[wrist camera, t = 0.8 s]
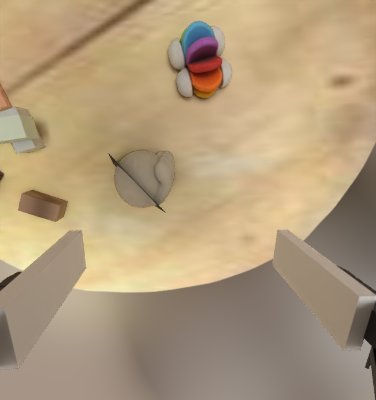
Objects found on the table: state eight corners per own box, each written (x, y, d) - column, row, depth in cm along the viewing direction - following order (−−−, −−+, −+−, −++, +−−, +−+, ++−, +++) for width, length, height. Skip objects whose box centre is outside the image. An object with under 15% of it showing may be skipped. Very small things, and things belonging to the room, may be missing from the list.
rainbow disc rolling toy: (182, 107, 36) (185, 98, 29) (163, 42, 33) (162, 15, 26) (230, 91, 36) (245, 79, 29) (215, 26, 33) (228, -6, 26)
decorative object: (144, 135, 38) (181, 177, 41) (100, 174, 36) (141, 215, 39) (154, 112, 26) (206, 173, 28) (89, 168, 24) (149, 228, 27)
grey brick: (10, 115, 34) (-5, 113, 31) (28, 110, 34) (14, 106, 31) (29, 152, 36) (16, 153, 33) (46, 146, 35) (35, 147, 33)
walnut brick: (29, 205, 38) (18, 210, 35) (33, 189, 37) (21, 193, 34) (64, 216, 39) (55, 221, 36) (68, 201, 38) (59, 205, 35)
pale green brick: (-1, 144, 32) (-18, 143, 29) (-9, 123, 31) (-27, 121, 28) (39, 138, 32) (26, 137, 29) (32, 117, 32) (18, 114, 29)
